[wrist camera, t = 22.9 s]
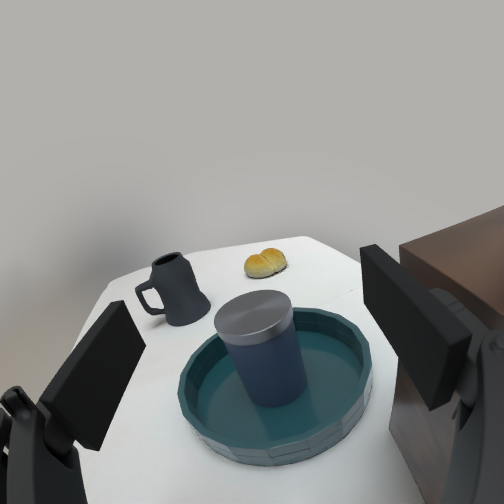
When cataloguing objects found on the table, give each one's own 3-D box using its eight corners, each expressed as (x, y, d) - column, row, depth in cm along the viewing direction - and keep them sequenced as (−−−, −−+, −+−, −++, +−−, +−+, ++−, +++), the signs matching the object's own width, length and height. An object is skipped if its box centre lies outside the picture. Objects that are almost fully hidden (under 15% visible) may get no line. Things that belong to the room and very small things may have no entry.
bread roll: (241, 271, 62) (236, 255, 61) (277, 257, 64) (273, 241, 63) (253, 284, 54) (247, 266, 53) (293, 267, 56) (289, 249, 55)
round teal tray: (402, 424, 19) (407, 401, 17) (186, 477, 19) (166, 460, 18) (335, 314, 38) (332, 291, 37) (198, 352, 38) (188, 331, 37)
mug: (202, 294, 56) (183, 244, 53) (217, 310, 48) (195, 253, 45) (150, 318, 52) (127, 268, 48) (157, 339, 44) (128, 283, 40)
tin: (316, 398, 25) (298, 320, 21) (247, 415, 25) (211, 344, 21) (301, 355, 32) (282, 282, 28) (243, 371, 32) (215, 301, 28)
